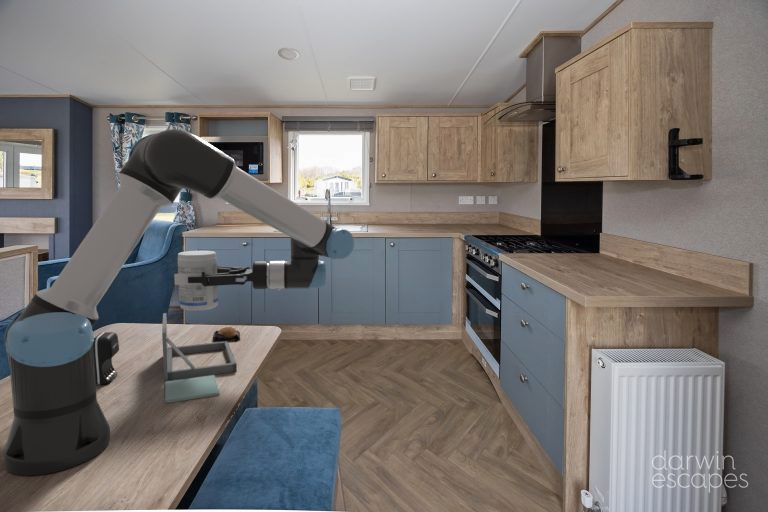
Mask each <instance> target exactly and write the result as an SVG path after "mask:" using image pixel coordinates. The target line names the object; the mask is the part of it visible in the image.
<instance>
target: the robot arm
mask: <svg viewBox="0 0 768 512" xmlns="http://www.w3.org/2000/svg"><path fill="white" fill-rule="evenodd" d="M127 159H128V160H127V161H126V162H125V164H124V165H123V166H122V169H121V170H120V171H119V173H118V174H117V176H118V177H117V178H118V180H119V184H120V185H119V187H118V188H117V191H116V192H115V194H114V195H113V197H112V198H111V199H110V201H109V202H108V203H107V205H106V206H105V207H104V209H103V211H102V212H101V213H100V215H99V216H98V218H97V219H96V221H95V223H94V224H93V225H92V227H91V228H90V229H89V231H88V232H87V234H86V235H85V237H84V238H83V240H82V241H81V243H80V244H79V245H78V247H77V249H76V250H75V252H74V253H73V255H72V256H71V258H69V260H68V262H67V263H66V265H65V266H64V267H63V269H62V271H61V272H60V273H59V275H58V276H57V278H56V279H55V280H54V282H53V283H52V285H51V287H49V288H46V289H42V290H38V291H36V293H35V294H34V295H33V296H32V298H31V300H30V301H29V302H28V304H27V305H26V307H25V308H24V309H23V310H22V311H21V312H19V313H18V314H16V316H14V317H13V318H12V319H11V321H10V322H9V323H8V326H7V327H6V329H5V333H4V348H5V350H6V354H7V355H6V356H7V360H8V366H9V373H10V375H9V376H10V384H11V394H12V395H11V397H12V406H13V407H12V408H13V421H12V424H11V427H10V430H9V434H8V436H7V439H6V443H5V446H4V450H3V463H4V468H5V470H6V471H7V472H9V473H11V474H14V475H19V476H40V475H46V474H53V473H56V472H61V471H64V470H68V469H70V468H73V467H76V466H78V465H81V464H83V463H84V462H87V461H89V460H91V459H93V458H94V457H96V456H98V455H99V454H101V453H102V452H103V451H104V450H105V449H106V448H107V447H108V446H109V444H110V442H111V427H110V424H109V422H108V420H107V418H106V416H105V414H104V412H103V409H102V408H101V406H100V404H99V402H98V399H97V384H96V381H95V366H94V351H93V342H94V338H95V333H94V331H93V327H94V326H95V325H96V323H97V321H98V320H99V313H98V311H97V306H98V305H99V303H100V301H101V300H102V298H103V297H104V295H105V294H106V293H107V291H108V289H109V288H110V286H111V285H112V283H113V282H114V280H115V279H116V277H117V276H118V274H119V272H121V269H122V268H123V266H124V265H125V264H126V261H127V260H128V259H129V257H130V256H131V253H132V252H133V251H134V249H135V248H136V246H138V245H137V244H138V243H139V241H140V240H141V238H142V237H143V236H144V234H145V232H146V231H147V229H148V228H149V227H150V225H151V223H152V222H153V221H154V218H155V217H156V215H157V214H158V212H159V211H160V210H161V209H162V208H164V207H170V206H172V205H173V204H174V202H175V201H176V199H177V197H178V196H179V194H180V193H181V191H182V190H183V189H184V190H188V191H192V192H194V193H198V194H200V195H202V196H203V197H206V198H207V199H209V200H213V199H217V198H218V199H220V200H221V201H223V202H225V203H226V204H228V205H231V206H232V207H234V208H236V209H238V210H239V211H242V212H244V214H246V215H249V216H251V217H252V218H254V219H256V220H258V221H260V222H262V223H264V224H266V225H268V226H269V227H271V228H273V229H274V230H276V231H279V232H280V233H282V234H284V235H286V236H287V237H289V238H290V260H288V261H287V260H270V261H269V263H268V262H267V261H266V260H262V261H261V260H260V261H259V260H258V261H256V260H255V261H253V263H252V267H250V266H224V265H223V266H219V265H217V274H205V272H202V274H178V273H174V275H173V276H174V285H175V286H179V285H203V286H205V287H206V286H229V285H230V286H232V285H233V286H234V285H239V286H240V285H241V286H243V285H245V284H246V283H247V282H252V288H253V289H254V290H267V289H268V287H269V289H270V290H273V289H275V290H277V291H279V292H280V291H281V290H282V289H295V290H296V289H300V290H301V289H304V290H305V289H307V290H310V289H319V288H320V289H323V288H324V287H325V286H326V280H327V273H326V272H327V271H326V270H327V267H326V266H327V265H326V262H325V261H324V260H320V258H319V256H321V257H325V258H329V259H332V260H336V259H337V260H343V259H346V258H348V257H349V256H350V255H351V254H352V252H353V251H354V248H355V239H354V236H353V235H352V233H351V232H350V231H349V230H347V229H344V228H342V227H335V226H333V225H332V224H330V223H329V222H327V221H325V220H323V219H322V218H320V217H319V216H317V215H315V214H314V213H312V212H311V211H309V210H307V209H305V207H303V206H301V205H299V204H298V203H296V202H294V201H292V199H290V198H288V197H286V196H284V195H283V194H281V192H278V191H276V190H275V189H274V188H272V187H270V186H269V185H267V184H265V183H263V182H262V181H260V180H259V179H257V178H256V177H254V176H252V175H251V174H249V173H247V172H246V171H244V170H242V169H241V168H239V167H238V166H237V164H236V161H235V159H234V158H232V157H231V156H229V154H228V155H227V154H226V153H224V152H223V151H222V150H220V149H218V148H217V147H215V146H214V145H212V144H211V143H209V142H207V141H206V140H204V139H203V138H201V137H199V136H198V135H196V134H193V133H192V132H190V131H186V130H182V129H175V128H173V129H166V130H162V131H160V132H157V133H151V134H147V135H144V137H141V138H140V139H138V140H137V141H136V142H135V143H134V144H133V145H132V148H131V149H130V151H129V153H128V158H127ZM208 279H209V281H208Z"/></svg>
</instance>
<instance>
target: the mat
mask: <svg viewBox="0 0 768 512" xmlns="http://www.w3.org/2000/svg"><path fill="white" fill-rule="evenodd" d="M164 382H165V385H164V386H165V387H164V388H165V391H164V394H165V395H164V404H170V403H175V402H181V401H188V400H194V399H200V398H207V397H215V396H219V395H220V392H219V387H218V383H217V380H216V374H213V375H206V376H198V377H191V378H184V379H177V380H169V381H164Z"/></svg>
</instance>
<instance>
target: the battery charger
mask: <svg viewBox="0 0 768 512" xmlns="http://www.w3.org/2000/svg"><path fill="white" fill-rule="evenodd" d="M119 350H120V343H119V337H118V334H117V332H113V331H111V332H110V331H109V332H106V331H102V332H100V333H99V334H97V335H96V336H94V342H93V351H94V366H95V381H96V385H97V386H98V385H99V386H100V385H105V384H110V383H112V381H114V379H115V378H116V377H117V376H118V372H117V370H116V369H115V368H114V366H113V362H112V361H113V359H112V358H113V357H114V356H115V355H116V354H117V353H118V352H119Z"/></svg>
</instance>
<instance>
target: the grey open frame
mask: <svg viewBox="0 0 768 512" xmlns="http://www.w3.org/2000/svg"><path fill="white" fill-rule="evenodd" d="M167 319H168V318H167V312H164V313H162V329H161V330H162V331H161V337H162V339H161V341H162V358H163V362H162V363H163V381H164V382H167V381H174V380H182V379H189V378H196V377H203V376H211V375H219V374H220V375H221V374H224V373H225V374H226V373H234V372H237V361H236V360H235V357H234V354H233V351H232V349H231V346H230V344H229V343H228V341H224V342H215V341H214V342H208V343H199V344H188V345H181V346H177V345H175V344H174V342H173V341H172V340H171V339H170V338H169V337H168V321H167ZM168 345H169V346H170V347H169V346H168ZM219 350H224V352H225V355H226V358H227V360H228V362H229V363H222V364H221V363H220V364H214V365H207V366H199V367H196V366H194V364H193V363H192V362H191V361H190V360H189V359H188V358H187V356H186V355H185V354H193V353H203V352H209V351H210V352H211V351H219ZM173 356H179V357H180V358H181V359H182V360H183V361H184V362H185V363H186V364H187V366H189V368H185V369H184V368H183V369H176V370H173Z"/></svg>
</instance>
